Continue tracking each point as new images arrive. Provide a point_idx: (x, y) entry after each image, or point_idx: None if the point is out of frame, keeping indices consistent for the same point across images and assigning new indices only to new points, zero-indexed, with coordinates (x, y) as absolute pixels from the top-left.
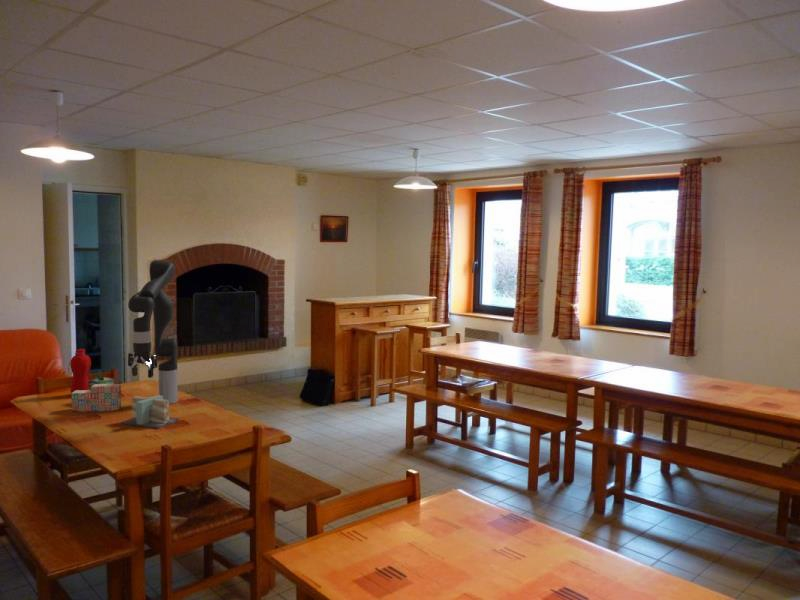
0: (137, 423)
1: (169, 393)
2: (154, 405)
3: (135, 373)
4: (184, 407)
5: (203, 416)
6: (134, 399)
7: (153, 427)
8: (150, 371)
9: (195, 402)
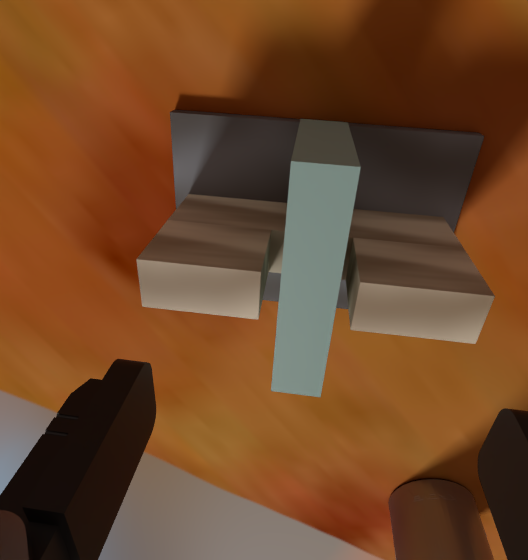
0: (340, 122)
1: (416, 534)
2: (248, 249)
3: (509, 473)
4: (309, 455)
5: None
6: (463, 285)
7: (209, 113)
8: (34, 475)
9: (310, 510)
